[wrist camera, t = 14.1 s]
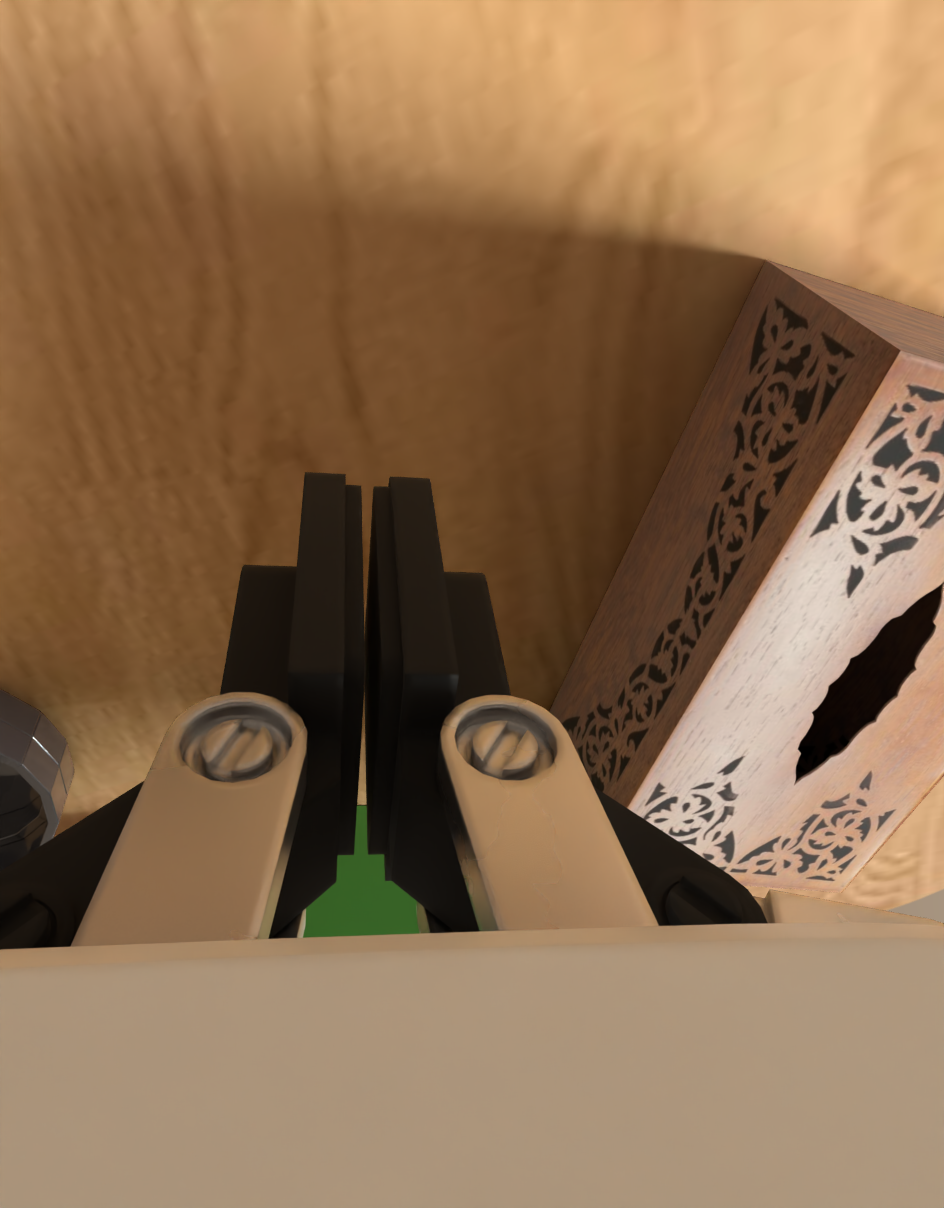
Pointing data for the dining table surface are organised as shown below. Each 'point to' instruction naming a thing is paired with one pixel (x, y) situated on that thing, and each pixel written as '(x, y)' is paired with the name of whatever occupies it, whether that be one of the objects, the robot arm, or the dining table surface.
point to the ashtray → (29, 778)
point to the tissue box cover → (783, 598)
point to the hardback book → (361, 897)
